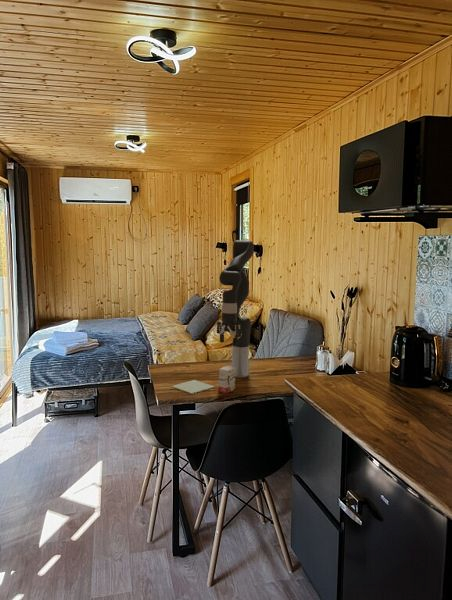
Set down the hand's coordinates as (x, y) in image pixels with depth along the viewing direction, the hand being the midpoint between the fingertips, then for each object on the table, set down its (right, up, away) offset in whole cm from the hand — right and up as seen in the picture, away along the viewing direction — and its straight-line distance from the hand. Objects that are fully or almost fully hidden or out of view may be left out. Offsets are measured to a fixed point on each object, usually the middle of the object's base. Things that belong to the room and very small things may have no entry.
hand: (228, 343), depth 233 cm
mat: (-18, -23, +6) cm, 30 cm away
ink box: (-1, -24, +3) cm, 24 cm away
